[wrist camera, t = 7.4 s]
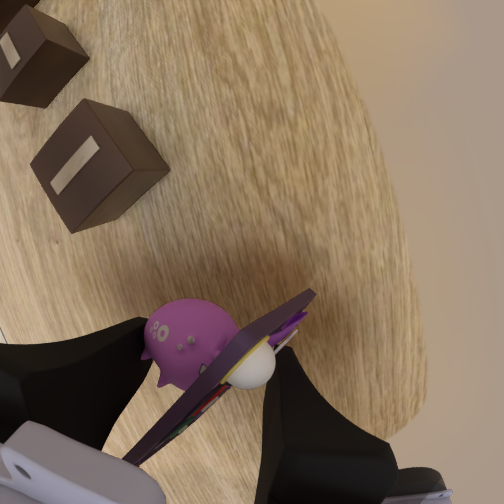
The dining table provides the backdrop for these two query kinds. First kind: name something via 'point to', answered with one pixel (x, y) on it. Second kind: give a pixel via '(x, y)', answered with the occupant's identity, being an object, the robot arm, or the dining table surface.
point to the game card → (209, 359)
